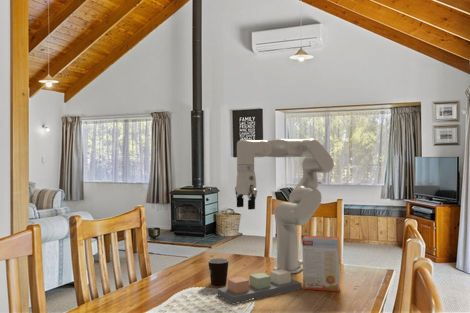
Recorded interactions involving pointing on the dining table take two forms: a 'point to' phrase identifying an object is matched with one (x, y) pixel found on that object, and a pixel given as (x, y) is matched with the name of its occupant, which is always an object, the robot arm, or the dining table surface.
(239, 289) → the terracotta button
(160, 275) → the dining table surface
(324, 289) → the cracker box
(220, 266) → the coffee mug
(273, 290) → the button panel
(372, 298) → the dining table surface
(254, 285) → the sage button
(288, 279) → the cream button
